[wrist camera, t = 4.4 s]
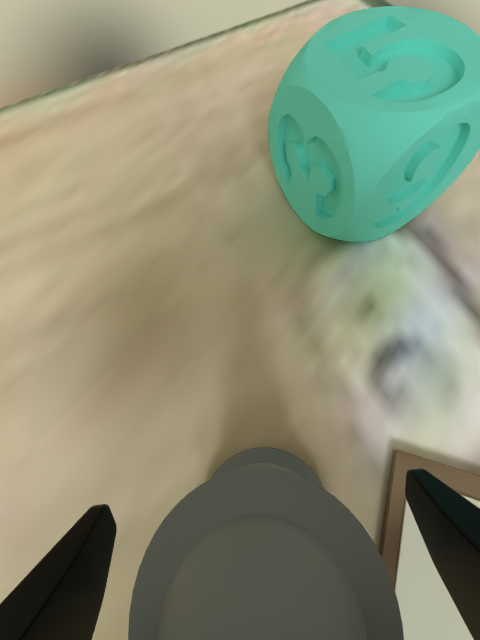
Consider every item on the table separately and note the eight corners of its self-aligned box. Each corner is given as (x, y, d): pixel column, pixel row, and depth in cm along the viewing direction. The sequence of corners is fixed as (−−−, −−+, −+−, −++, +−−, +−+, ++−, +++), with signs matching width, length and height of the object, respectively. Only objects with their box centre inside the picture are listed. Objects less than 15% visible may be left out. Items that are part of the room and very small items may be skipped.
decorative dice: (360, 134, 23) (403, -15, 16) (441, 205, 20) (540, 63, 13) (266, 181, 22) (265, 46, 15) (337, 264, 19) (381, 145, 12)
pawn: (293, 627, 13) (452, 1663, 2) (179, 540, 14) (-118, 820, 3) (349, 490, 14) (609, 594, 4) (242, 425, 16) (188, 354, 5)
